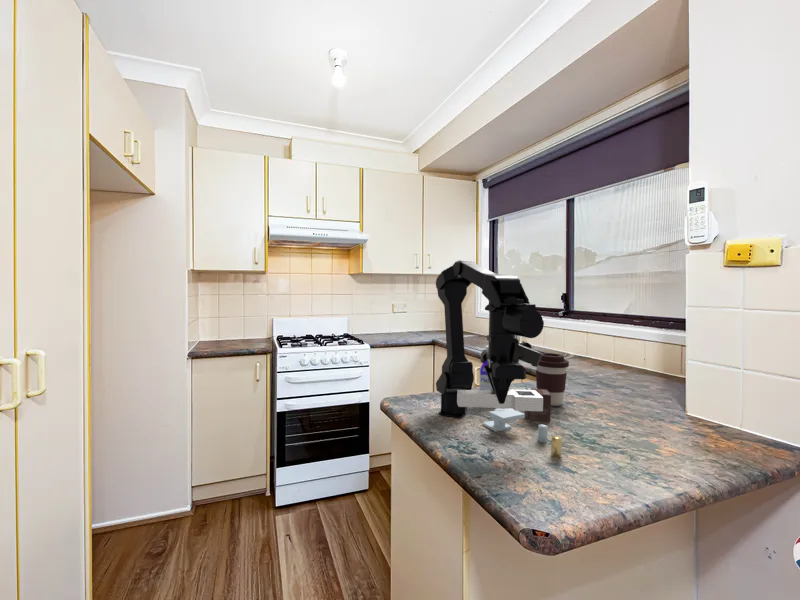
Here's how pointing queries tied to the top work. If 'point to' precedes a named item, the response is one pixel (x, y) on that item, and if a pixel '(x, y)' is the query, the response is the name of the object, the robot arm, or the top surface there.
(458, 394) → the link
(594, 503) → the top surface
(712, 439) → the top surface
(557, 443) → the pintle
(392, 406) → the top surface
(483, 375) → the bottle
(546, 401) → the box
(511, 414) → the pair of pale-grey parts
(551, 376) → the coffee cup
